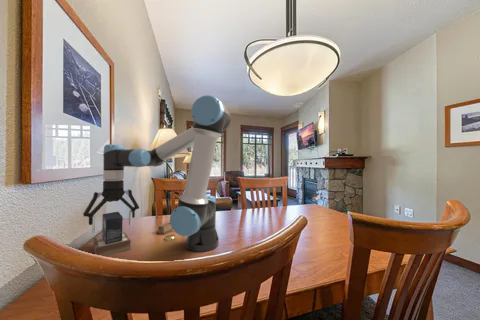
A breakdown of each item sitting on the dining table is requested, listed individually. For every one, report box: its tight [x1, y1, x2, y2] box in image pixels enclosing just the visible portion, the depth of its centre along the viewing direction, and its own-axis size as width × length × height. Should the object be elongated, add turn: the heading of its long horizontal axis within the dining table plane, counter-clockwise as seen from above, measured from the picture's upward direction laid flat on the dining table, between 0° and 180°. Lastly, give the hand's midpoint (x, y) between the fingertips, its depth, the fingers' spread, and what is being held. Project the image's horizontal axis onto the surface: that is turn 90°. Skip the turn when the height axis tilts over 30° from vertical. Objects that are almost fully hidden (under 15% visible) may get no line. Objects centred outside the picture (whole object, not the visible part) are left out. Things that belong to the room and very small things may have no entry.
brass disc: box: [164, 234, 176, 242], centre depth 95 cm, size 5×5×1 cm
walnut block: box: [157, 223, 173, 236], centre depth 103 cm, size 5×5×4 cm
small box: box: [101, 211, 124, 244], centre depth 83 cm, size 11×6×10 cm, turn 42°
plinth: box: [92, 232, 132, 257], centre depth 83 cm, size 12×12×4 cm
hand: (112, 228), depth 83 cm, fingers open, 13 cm apart
